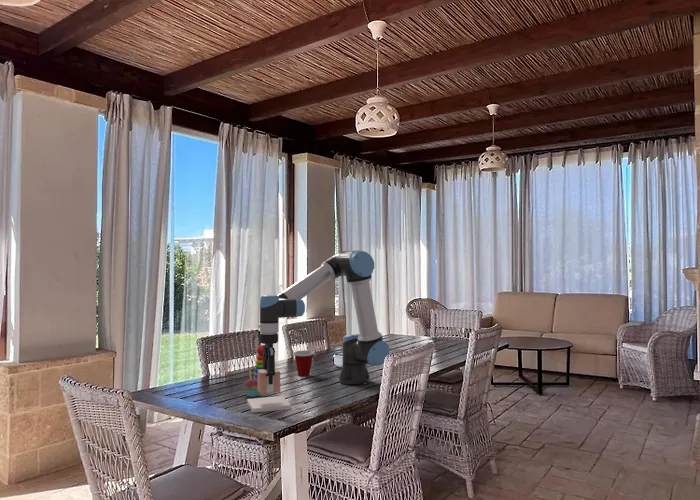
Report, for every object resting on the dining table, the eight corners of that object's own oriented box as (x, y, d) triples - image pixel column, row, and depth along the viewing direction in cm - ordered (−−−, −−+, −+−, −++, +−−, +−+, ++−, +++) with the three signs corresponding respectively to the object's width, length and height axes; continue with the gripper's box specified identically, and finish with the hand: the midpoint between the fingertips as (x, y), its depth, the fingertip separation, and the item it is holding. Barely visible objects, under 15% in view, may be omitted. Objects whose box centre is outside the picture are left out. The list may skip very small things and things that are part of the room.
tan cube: (276, 388, 217) (276, 368, 217) (280, 391, 210) (280, 371, 210) (257, 389, 214) (257, 369, 214) (260, 393, 207) (260, 373, 208)
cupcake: (253, 398, 223) (253, 370, 223) (238, 396, 227) (238, 368, 228) (266, 394, 230) (266, 367, 230) (252, 391, 235) (252, 365, 235)
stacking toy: (266, 386, 244) (266, 346, 245) (250, 385, 246) (250, 346, 246) (272, 383, 252) (272, 344, 253) (256, 382, 254) (256, 343, 254)
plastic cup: (289, 376, 266) (289, 353, 267) (299, 372, 276) (299, 349, 277) (308, 378, 262) (308, 354, 262) (317, 374, 272) (317, 351, 272)
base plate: (282, 399, 222) (282, 396, 222) (290, 409, 207) (290, 405, 207) (247, 402, 217) (247, 399, 217) (252, 412, 202) (252, 408, 202)
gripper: (255, 330, 221) (255, 385, 220) (264, 336, 202) (263, 396, 201) (273, 329, 223) (272, 383, 223) (283, 336, 205) (282, 395, 204)
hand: (268, 389), depth 212 cm, fingers closed on tan cube, 7 cm apart
